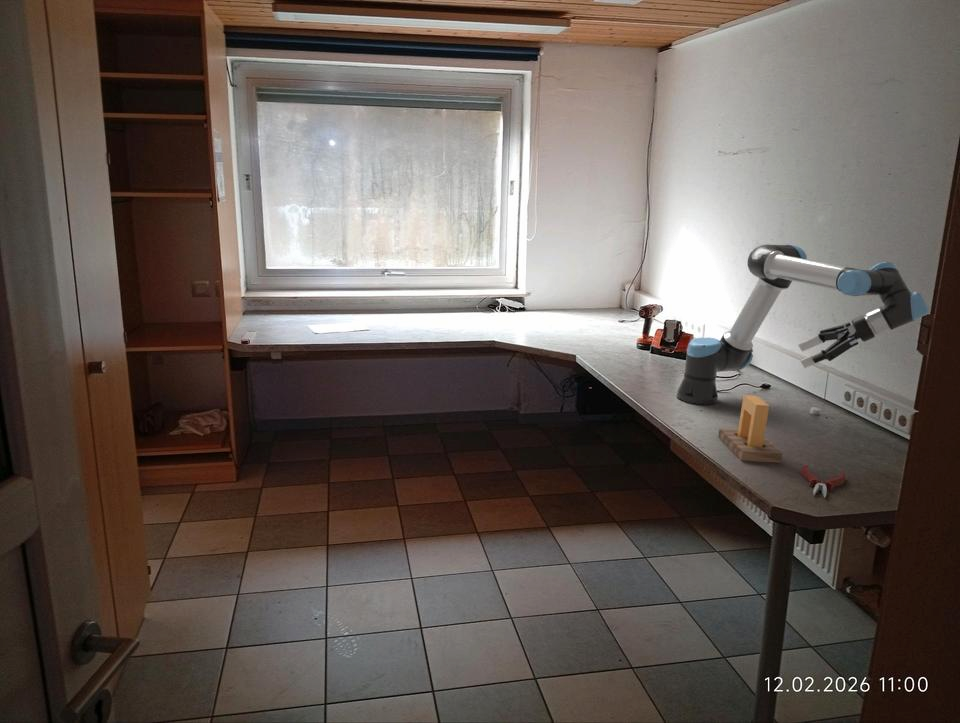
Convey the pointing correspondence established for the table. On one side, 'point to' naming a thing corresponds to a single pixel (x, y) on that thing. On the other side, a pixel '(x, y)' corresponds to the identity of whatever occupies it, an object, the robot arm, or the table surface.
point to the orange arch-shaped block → (753, 420)
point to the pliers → (826, 484)
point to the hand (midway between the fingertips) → (801, 355)
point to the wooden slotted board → (749, 453)
